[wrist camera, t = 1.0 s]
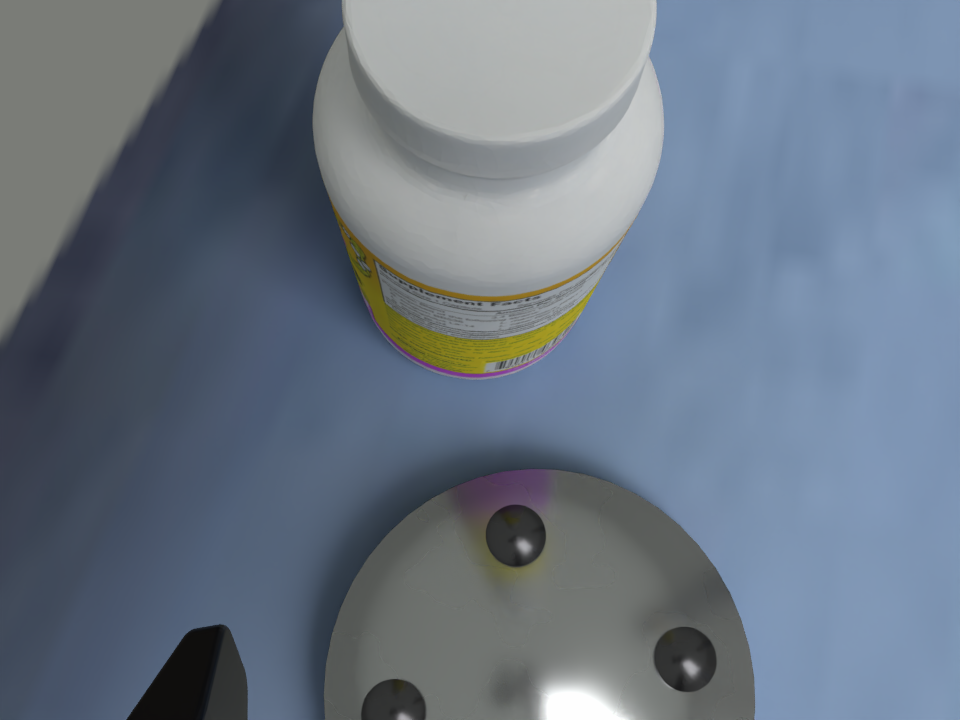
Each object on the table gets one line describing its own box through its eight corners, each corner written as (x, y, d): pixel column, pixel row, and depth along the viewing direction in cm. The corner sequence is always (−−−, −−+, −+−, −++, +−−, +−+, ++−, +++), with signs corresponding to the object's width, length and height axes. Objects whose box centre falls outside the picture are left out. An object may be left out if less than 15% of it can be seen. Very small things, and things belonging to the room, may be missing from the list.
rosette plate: (785, 865, 21) (801, 880, 20) (358, 953, 21) (353, 973, 20) (691, 444, 24) (702, 439, 23) (306, 507, 23) (299, 504, 22)
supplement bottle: (401, 146, 26) (361, -245, 13) (608, 208, 25) (770, -128, 13) (328, 348, 24) (203, 124, 11) (549, 415, 24) (667, 264, 11)
